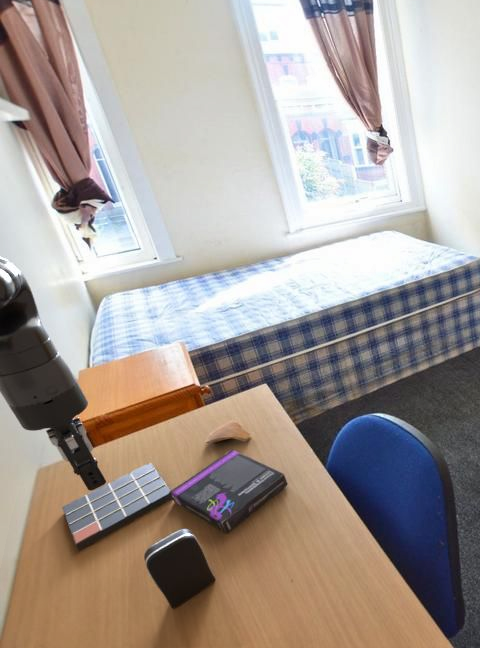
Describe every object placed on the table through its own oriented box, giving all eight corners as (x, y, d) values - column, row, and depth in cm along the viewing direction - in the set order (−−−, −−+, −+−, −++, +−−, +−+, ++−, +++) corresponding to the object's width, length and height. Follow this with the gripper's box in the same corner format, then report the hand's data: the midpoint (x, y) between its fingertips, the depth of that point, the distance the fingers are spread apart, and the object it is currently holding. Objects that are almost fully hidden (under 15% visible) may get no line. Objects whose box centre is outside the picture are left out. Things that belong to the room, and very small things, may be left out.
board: (79, 550, 89) (75, 544, 88) (65, 512, 99) (61, 506, 98) (174, 497, 100) (171, 491, 99) (153, 467, 109) (150, 461, 109)
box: (174, 503, 98) (226, 536, 89) (167, 491, 97) (219, 522, 87) (237, 460, 109) (289, 484, 99) (232, 448, 108) (284, 472, 98)
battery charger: (212, 568, 82) (187, 520, 78) (218, 580, 80) (193, 532, 75) (166, 597, 78) (137, 548, 73) (171, 612, 75) (142, 562, 71)
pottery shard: (251, 440, 115) (248, 432, 114) (209, 456, 111) (205, 448, 110) (248, 420, 124) (245, 412, 123) (208, 434, 119) (204, 426, 118)
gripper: (2, 387, 70) (55, 471, 77) (11, 419, 61) (70, 511, 68) (67, 365, 75) (111, 445, 82) (83, 392, 66) (131, 479, 73)
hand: (92, 475), depth 75 cm, fingers open, 8 cm apart
